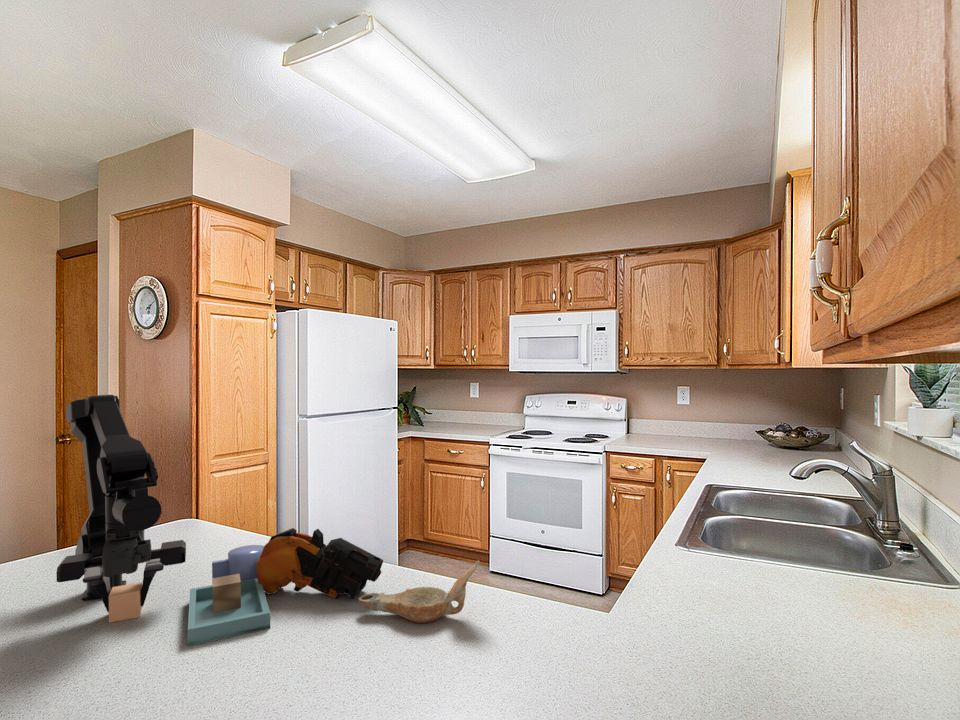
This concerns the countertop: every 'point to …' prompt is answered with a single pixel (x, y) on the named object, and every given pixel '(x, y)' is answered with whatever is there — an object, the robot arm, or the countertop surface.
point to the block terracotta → (125, 602)
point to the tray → (227, 614)
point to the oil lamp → (421, 601)
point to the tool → (315, 564)
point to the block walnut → (226, 593)
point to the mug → (239, 562)
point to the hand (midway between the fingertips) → (126, 608)
